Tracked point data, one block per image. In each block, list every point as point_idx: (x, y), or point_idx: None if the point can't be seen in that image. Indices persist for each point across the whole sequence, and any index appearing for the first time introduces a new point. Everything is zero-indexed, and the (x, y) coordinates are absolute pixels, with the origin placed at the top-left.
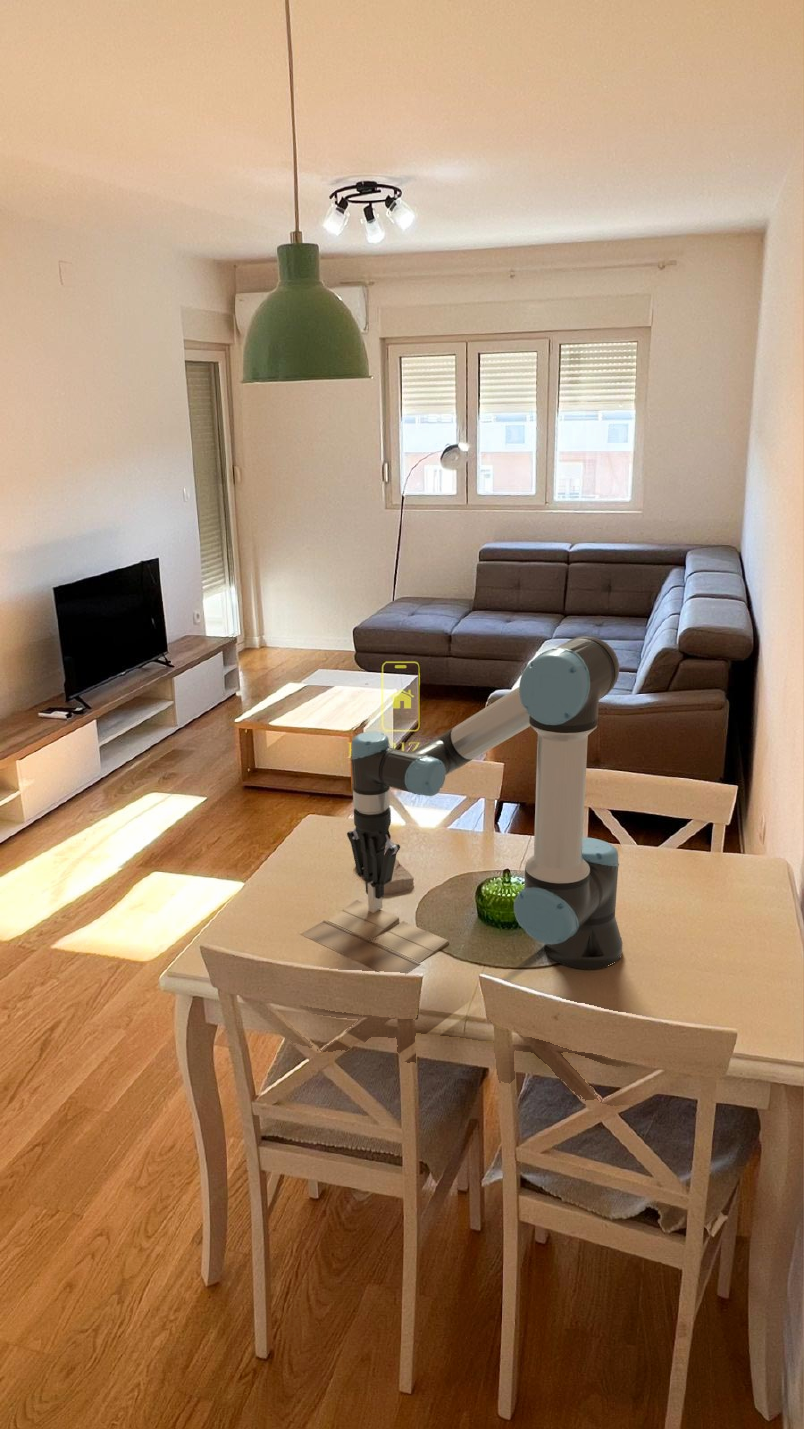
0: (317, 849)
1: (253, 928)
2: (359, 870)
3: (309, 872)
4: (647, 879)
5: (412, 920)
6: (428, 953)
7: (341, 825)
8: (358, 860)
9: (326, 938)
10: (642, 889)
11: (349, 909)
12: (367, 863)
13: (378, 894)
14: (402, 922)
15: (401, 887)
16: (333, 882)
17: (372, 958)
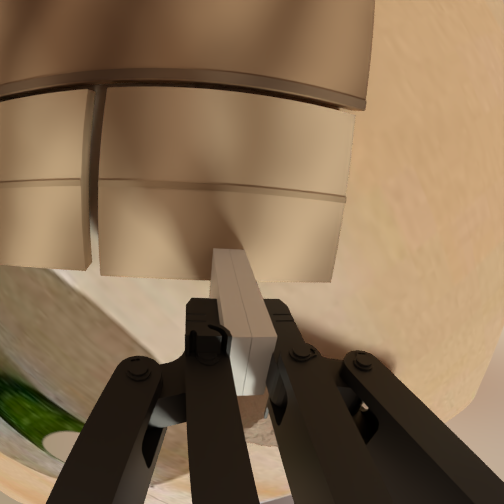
0: (465, 368)
1: (478, 39)
2: (373, 382)
3: (470, 315)
4: (32, 487)
5: (119, 314)
6: None
7: (441, 419)
8: (416, 441)
9: (276, 2)
10: (16, 475)
11: (322, 216)
12: (325, 476)
13: (194, 314)
14: (79, 262)
15: (246, 404)
16: (424, 323)
17: (36, 14)
